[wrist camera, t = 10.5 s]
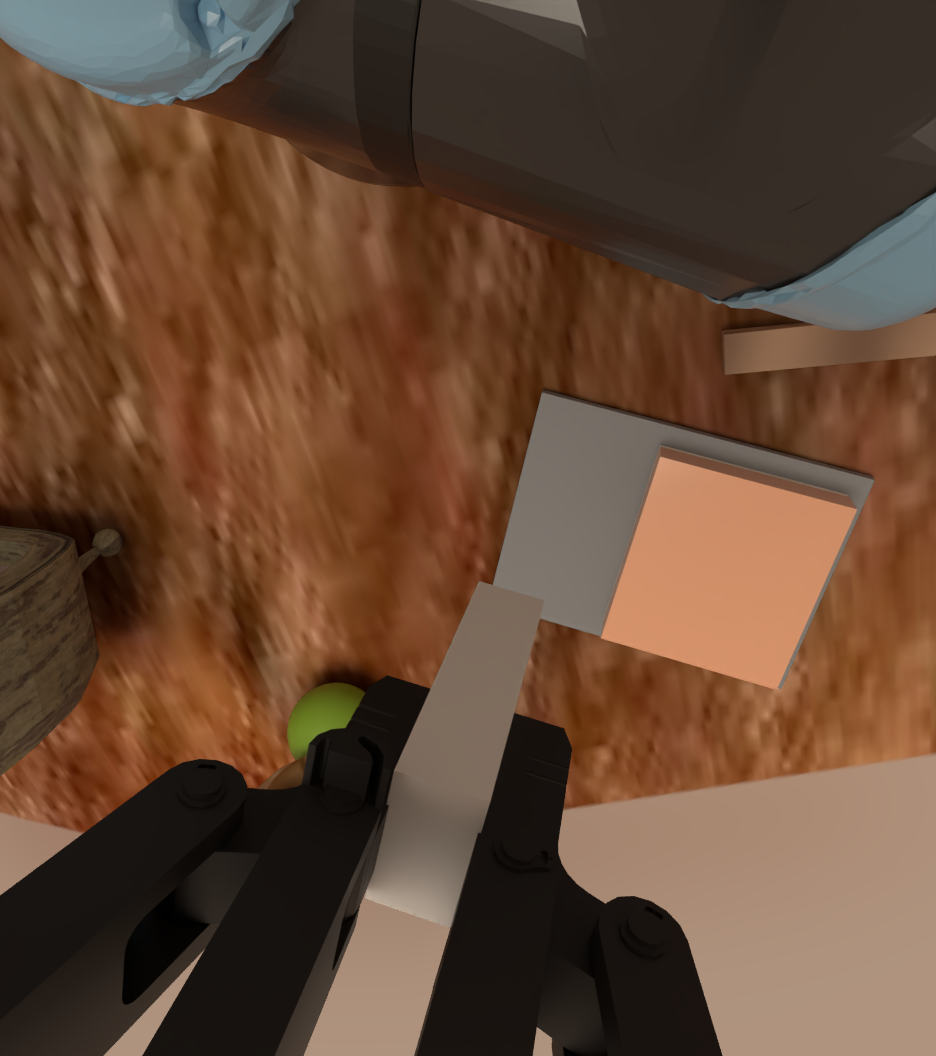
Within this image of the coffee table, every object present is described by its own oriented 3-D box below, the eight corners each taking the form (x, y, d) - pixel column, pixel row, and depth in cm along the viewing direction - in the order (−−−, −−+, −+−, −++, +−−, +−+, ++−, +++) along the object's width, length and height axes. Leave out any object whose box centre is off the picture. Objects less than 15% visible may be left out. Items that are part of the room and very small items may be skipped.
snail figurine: (280, 683, 51) (178, 818, 40) (368, 654, 48) (286, 787, 38) (321, 754, 52) (234, 902, 41) (409, 728, 50) (341, 878, 39)
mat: (490, 598, 45) (488, 603, 45) (543, 389, 40) (542, 392, 40) (779, 682, 44) (781, 689, 43) (871, 476, 39) (874, 479, 38)
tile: (600, 638, 42) (776, 689, 41) (660, 456, 38) (857, 509, 37) (602, 619, 44) (771, 668, 43) (660, 444, 40) (847, 494, 39)
